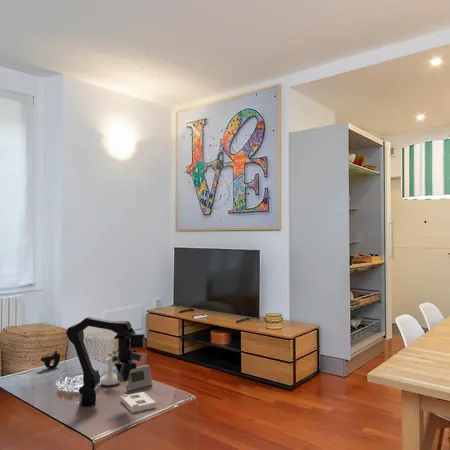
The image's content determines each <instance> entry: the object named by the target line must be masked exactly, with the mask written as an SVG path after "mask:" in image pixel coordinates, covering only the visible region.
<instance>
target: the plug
mask: <svg viewBox="0 0 450 450" xmlns="http://www.w3.org/2000/svg"><path fill="white" fill-rule="evenodd" d="M130 373H131V372H130ZM130 373H129V376H128V379H127V381H124V379H123V376H122V372H121V371H117V372H116V375H117V380H118V381H120V382H119V386H120V387H126V386H127V385H128V381H130Z"/></svg>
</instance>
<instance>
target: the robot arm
mask: <svg viewBox="0 0 450 450" xmlns="http://www.w3.org/2000/svg"><path fill="white" fill-rule="evenodd" d="M88 327H91V328H97V329H98V328H99V329H102V330H104V329H105V330H108V331H112V332H113V333H114V334H115V336H114V337H113V340H114V339H118V349H117V350H116V351H117V355H114V354H113V355H112V362H113V365H114V367H115V369H116V370H117V371H121V372H122V376H123V379H124V381H127V379H128V376H129V373H130V370H131V369H136V367H137V363H135V362H134V361H137V362H140V361H141V358H142V354H141V353H138V352H137V350H136V349H144V348H146V344H147V340H146V336H145V333H136V331H135V330H134V328H133V327H132V324H131V323H130V321H128V320H118V321H117V320H116V321H115V320H114V321H112V320H109V319H108V320H107V319H101V318H97V317H92V316H87V317H85V318H84V319H83V320H82V321H80V322H79V323H76V324H73V325H72V326H70V327H68V328H67V329H66V331H65V332H66V333H65V334H66V335H65V336H67V338H68V340H69V342H70V343H71V344H73V346H74V349H75V353H76V355H77V358H78V361H79V363H80V364H79V365H80V366H81V370H82V372H83V375H82V381H83V382H82V383H83V385H82V386H81V387H80V388H79V389H78V391H79V394H80V399H79V404H80V406H81V407H82V408H83V407H89V406H93V405H96V404H97V403H96V402H97V393H96V390H95V389H96V388H97V386H98V385H99V384H100V379H101V378H102V376H101V375H100V371H99V369H97V370H95V369H94V368H93V365H92V362H91V359H90V356H89V353H88V351H87V347H86V345H85V342H84V341H85V340H84V338H85V337H84V336H85V334H84V330H85V329H87V328H88ZM131 348H132V349H131Z"/></svg>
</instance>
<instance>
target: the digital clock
mask: <svg viewBox="0 0 450 450" xmlns="http://www.w3.org/2000/svg"><path fill="white" fill-rule="evenodd" d="M130 372H131V373H130V381H128V385H127V386H125V388H126V391H128V392H130V391H134V390H135V391H136V390H139V389H142V388H146V387H147V386H148V387H149V386H151V385H153V381H152V374H151V369H150V364H145V365H139V366H136V369H131V370H130Z"/></svg>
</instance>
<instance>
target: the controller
mask: <svg viewBox="0 0 450 450" xmlns="http://www.w3.org/2000/svg"><path fill="white" fill-rule="evenodd" d="M61 356H62V355H61V353H59V351H58V350H55V351H54V353H52V354H49V355H46V356H42V357H41V358H40V361H41V362H43V365H44V366H45V368H47V369H51V370H52V369H55V368H56V367H57V366H58V365H59V363H60V360H61ZM52 361H53V363H52V364H51V362H52Z"/></svg>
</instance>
